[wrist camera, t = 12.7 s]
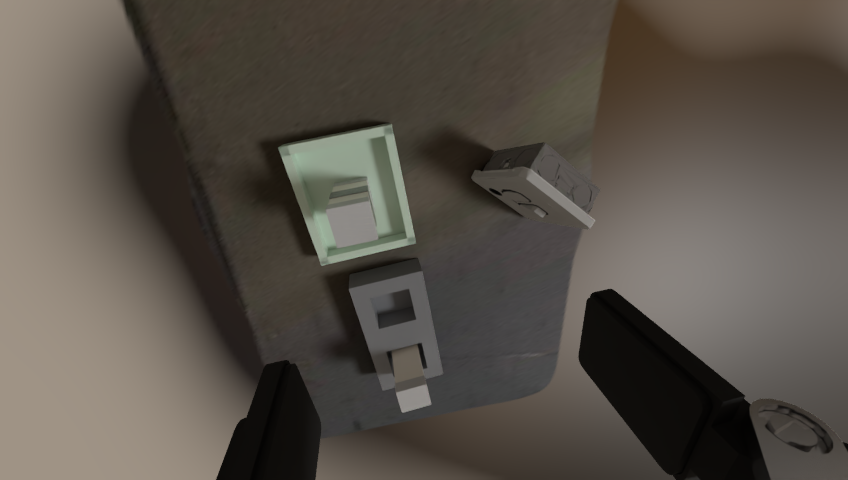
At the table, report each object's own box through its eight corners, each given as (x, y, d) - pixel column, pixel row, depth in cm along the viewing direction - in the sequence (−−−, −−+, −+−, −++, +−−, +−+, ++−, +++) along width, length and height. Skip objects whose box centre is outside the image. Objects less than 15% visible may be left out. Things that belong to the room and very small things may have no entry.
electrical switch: (466, 176, 33) (508, 194, 25) (494, 134, 33) (547, 137, 24) (526, 218, 37) (581, 246, 28) (553, 181, 36) (617, 198, 28)
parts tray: (283, 144, 29) (277, 147, 27) (389, 122, 30) (391, 124, 28) (323, 255, 34) (321, 265, 32) (413, 235, 35) (416, 243, 33)
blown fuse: (333, 183, 30) (325, 209, 23) (367, 176, 31) (368, 200, 24) (342, 214, 32) (337, 248, 25) (374, 207, 32) (378, 239, 25)
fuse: (389, 339, 40) (395, 392, 33) (414, 333, 40) (426, 384, 33) (395, 358, 41) (402, 412, 34) (419, 351, 42) (431, 404, 34)
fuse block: (349, 274, 36) (348, 288, 33) (417, 257, 36) (422, 270, 34) (381, 372, 43) (382, 390, 40) (438, 356, 43) (443, 374, 41)
